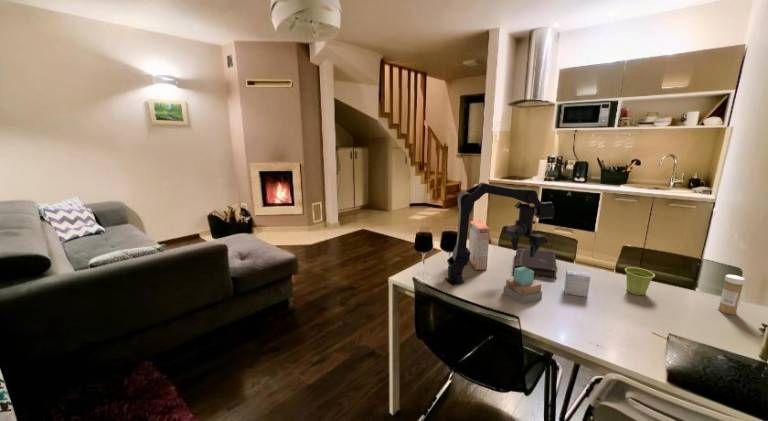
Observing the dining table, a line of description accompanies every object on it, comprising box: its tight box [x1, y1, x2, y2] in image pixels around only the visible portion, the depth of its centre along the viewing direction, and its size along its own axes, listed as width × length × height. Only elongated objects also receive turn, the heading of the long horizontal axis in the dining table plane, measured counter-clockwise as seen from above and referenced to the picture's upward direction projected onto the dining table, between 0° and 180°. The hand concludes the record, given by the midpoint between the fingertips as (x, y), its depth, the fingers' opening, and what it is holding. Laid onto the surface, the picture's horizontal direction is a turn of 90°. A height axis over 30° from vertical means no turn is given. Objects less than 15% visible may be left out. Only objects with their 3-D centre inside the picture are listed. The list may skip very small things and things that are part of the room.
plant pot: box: [624, 267, 656, 296], centre depth 127 cm, size 9×9×9 cm
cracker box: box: [468, 220, 491, 271], centre depth 156 cm, size 14×6×21 cm, turn 179°
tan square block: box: [505, 277, 542, 296], centre depth 126 cm, size 9×9×3 cm
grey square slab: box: [502, 284, 543, 305], centre depth 127 cm, size 10×10×4 cm
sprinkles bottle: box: [717, 274, 746, 316], centre depth 112 cm, size 5×5×13 cm
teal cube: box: [513, 267, 535, 285], centre depth 125 cm, size 5×5×5 cm
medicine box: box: [563, 269, 591, 298], centre depth 127 cm, size 8×4×9 cm, turn 65°
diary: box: [513, 247, 558, 280], centre depth 155 cm, size 19×25×5 cm
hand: (522, 253), depth 136 cm, fingers open, 9 cm apart
